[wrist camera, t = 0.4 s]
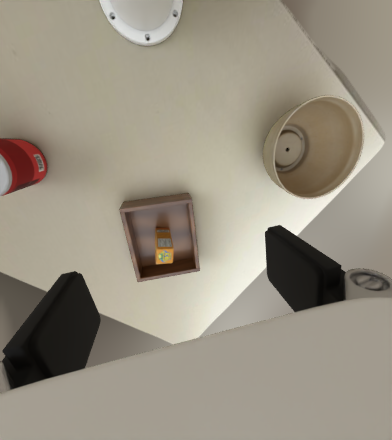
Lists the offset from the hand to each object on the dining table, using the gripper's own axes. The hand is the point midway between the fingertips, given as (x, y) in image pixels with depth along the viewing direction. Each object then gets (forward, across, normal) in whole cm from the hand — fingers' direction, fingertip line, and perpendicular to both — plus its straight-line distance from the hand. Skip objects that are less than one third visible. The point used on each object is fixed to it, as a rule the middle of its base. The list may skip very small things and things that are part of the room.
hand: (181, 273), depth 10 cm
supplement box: (+34, +3, +12) cm, 37 cm away
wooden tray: (+35, +3, +12) cm, 37 cm away
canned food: (+34, +24, -8) cm, 43 cm away
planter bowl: (+34, -26, -1) cm, 43 cm away
